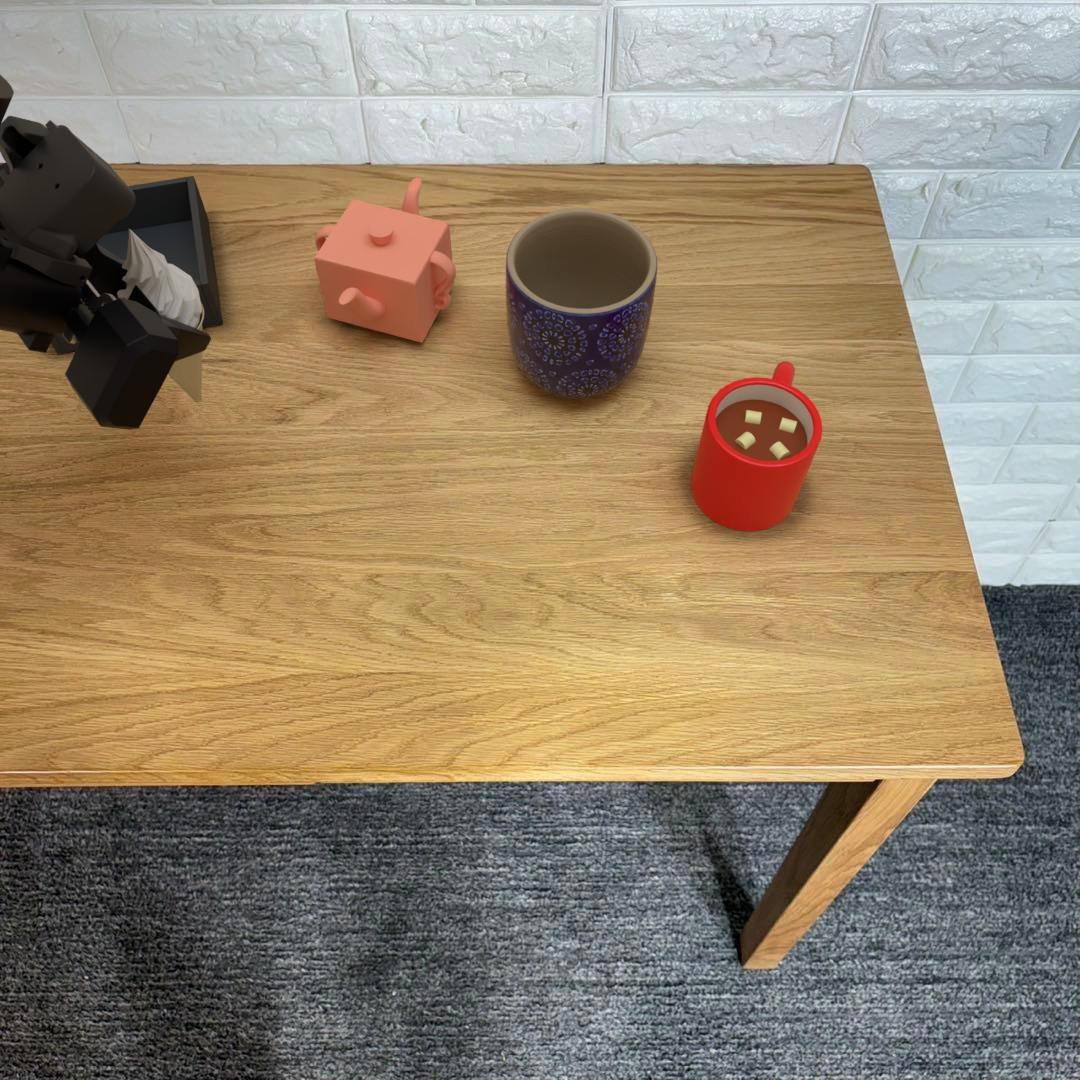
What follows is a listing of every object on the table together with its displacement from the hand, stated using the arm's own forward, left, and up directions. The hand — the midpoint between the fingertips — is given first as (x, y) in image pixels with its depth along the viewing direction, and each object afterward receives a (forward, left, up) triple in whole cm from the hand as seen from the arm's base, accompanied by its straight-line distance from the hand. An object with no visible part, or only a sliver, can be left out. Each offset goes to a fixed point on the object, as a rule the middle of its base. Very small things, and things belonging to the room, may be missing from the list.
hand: (187, 318), depth 64 cm
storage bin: (-6, +19, -13) cm, 24 cm away
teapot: (+14, +11, -14) cm, 23 cm away
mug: (+37, -12, -14) cm, 41 cm away
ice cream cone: (-1, -1, -7) cm, 7 cm away
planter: (+27, +1, -14) cm, 30 cm away
